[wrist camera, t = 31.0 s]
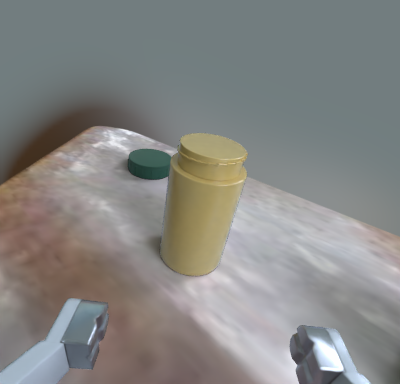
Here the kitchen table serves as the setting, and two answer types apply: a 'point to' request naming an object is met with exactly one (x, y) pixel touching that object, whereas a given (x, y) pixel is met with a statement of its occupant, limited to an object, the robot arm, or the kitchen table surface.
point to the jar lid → (149, 163)
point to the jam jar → (201, 202)
